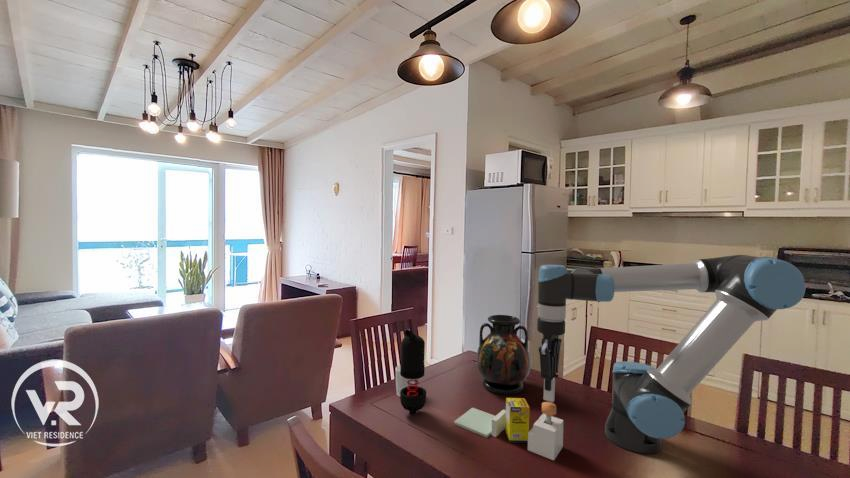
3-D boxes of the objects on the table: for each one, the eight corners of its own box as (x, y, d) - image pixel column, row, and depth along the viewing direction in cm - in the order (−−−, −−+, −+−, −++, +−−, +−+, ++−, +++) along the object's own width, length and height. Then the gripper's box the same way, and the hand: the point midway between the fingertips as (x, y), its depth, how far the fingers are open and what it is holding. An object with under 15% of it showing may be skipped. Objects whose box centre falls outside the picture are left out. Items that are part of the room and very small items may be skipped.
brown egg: (557, 426, 103) (558, 404, 103) (553, 432, 100) (553, 410, 100) (543, 422, 105) (544, 400, 105) (539, 427, 102) (539, 405, 102)
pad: (504, 421, 118) (504, 419, 118) (486, 437, 108) (486, 435, 108) (472, 409, 125) (472, 407, 125) (453, 424, 115) (453, 421, 115)
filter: (419, 424, 115) (420, 332, 114) (393, 418, 118) (395, 329, 118) (433, 405, 128) (434, 322, 127) (409, 400, 131) (411, 319, 130)
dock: (562, 446, 104) (563, 420, 104) (553, 460, 98) (554, 432, 98) (502, 424, 116) (503, 400, 115) (491, 435, 109) (492, 409, 109)
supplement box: (529, 443, 106) (530, 407, 105) (509, 443, 106) (509, 406, 105) (523, 432, 111) (524, 397, 111) (504, 431, 112) (505, 397, 111)
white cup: (419, 392, 137) (419, 367, 137) (407, 400, 131) (408, 374, 130) (403, 387, 141) (403, 362, 141) (390, 395, 135) (391, 369, 135)
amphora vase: (473, 395, 136) (474, 322, 135) (477, 373, 157) (478, 310, 156) (531, 402, 131) (533, 327, 130) (528, 378, 152) (529, 313, 151)
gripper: (545, 312, 109) (543, 388, 110) (530, 320, 99) (527, 404, 100) (571, 316, 105) (568, 395, 105) (557, 325, 94) (554, 413, 95)
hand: (548, 399), depth 102 cm, fingers closed
